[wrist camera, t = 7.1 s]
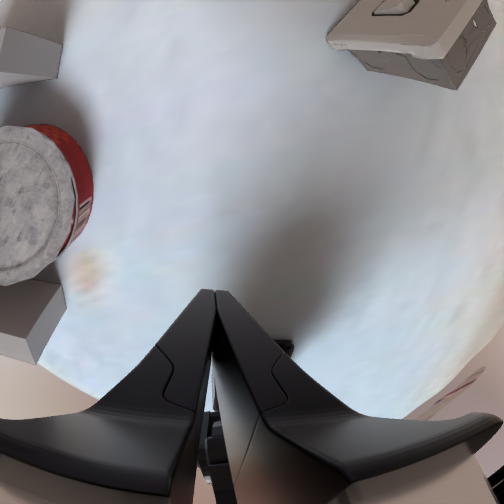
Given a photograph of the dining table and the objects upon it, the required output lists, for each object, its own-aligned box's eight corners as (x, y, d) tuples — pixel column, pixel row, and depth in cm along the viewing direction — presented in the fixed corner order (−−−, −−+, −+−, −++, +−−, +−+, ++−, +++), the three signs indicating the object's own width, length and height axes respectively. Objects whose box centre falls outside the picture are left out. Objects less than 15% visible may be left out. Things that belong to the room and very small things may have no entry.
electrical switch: (383, -25, 13) (469, -51, 5) (425, 21, 15) (514, 17, 7) (318, 42, 16) (407, 19, 8) (370, 91, 18) (467, 104, 10)
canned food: (31, 138, 20) (-28, 86, 10) (123, 160, 21) (80, 95, 11) (-9, 260, 19) (-86, 256, 9) (79, 300, 20) (7, 320, 10)
